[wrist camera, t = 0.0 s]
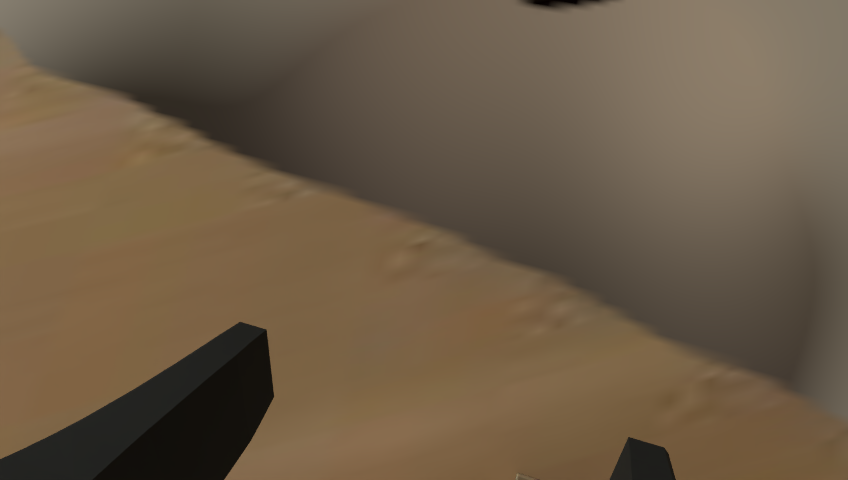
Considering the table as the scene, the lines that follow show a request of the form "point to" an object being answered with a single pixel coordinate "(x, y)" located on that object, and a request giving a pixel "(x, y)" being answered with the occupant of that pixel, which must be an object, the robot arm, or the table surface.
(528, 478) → the cabinet
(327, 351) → the table surface
